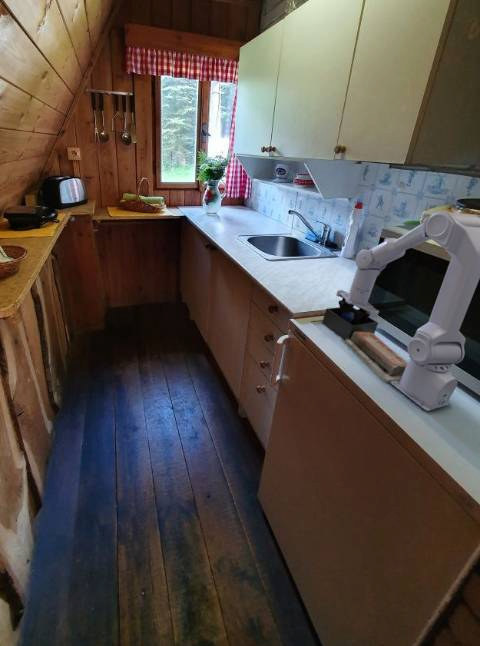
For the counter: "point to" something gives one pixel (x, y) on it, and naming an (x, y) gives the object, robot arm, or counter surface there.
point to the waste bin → (347, 324)
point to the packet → (348, 317)
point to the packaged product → (377, 356)
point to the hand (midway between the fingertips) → (348, 324)
